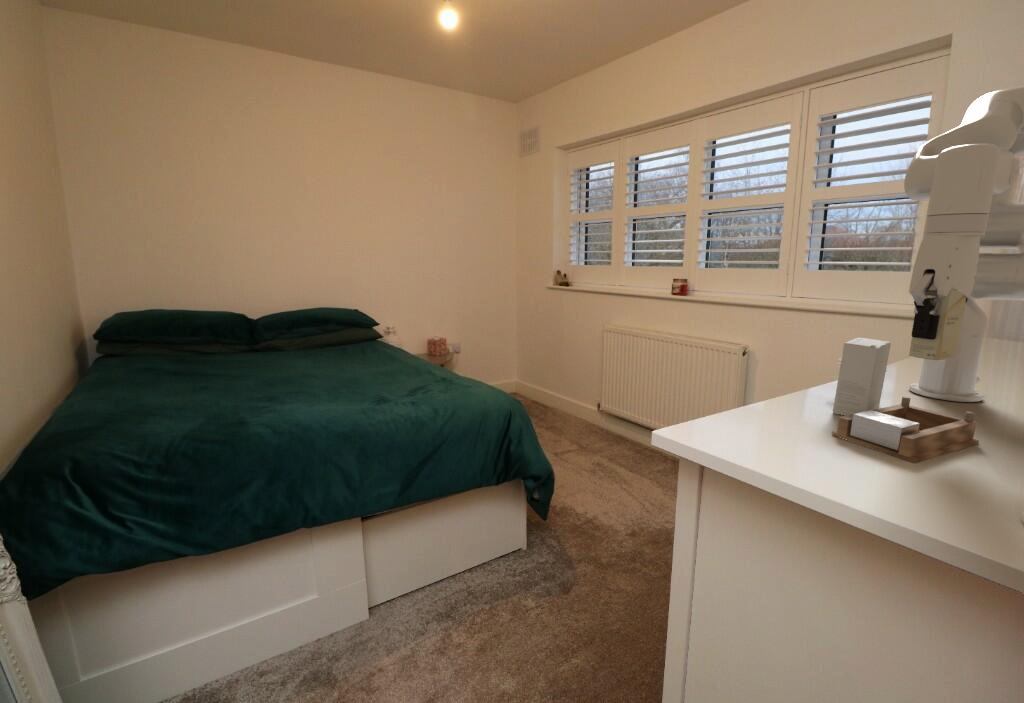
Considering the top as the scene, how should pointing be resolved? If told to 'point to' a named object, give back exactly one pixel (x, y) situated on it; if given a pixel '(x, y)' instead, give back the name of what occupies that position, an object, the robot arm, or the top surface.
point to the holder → (920, 432)
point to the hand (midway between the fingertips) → (934, 335)
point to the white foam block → (881, 428)
